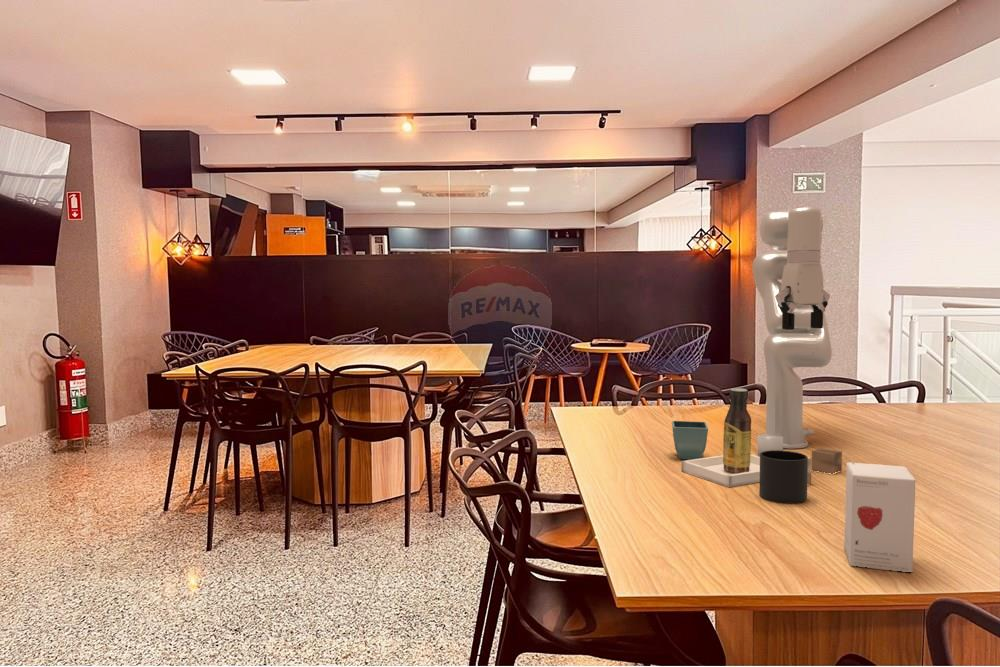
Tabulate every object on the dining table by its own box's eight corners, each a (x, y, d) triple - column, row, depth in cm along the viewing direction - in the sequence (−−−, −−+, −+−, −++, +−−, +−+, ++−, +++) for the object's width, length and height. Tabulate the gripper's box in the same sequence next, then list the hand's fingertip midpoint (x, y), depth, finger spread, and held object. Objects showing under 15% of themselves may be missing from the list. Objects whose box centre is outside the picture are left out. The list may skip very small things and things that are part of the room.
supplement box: (849, 567, 112) (850, 474, 111) (843, 547, 120) (845, 461, 119) (914, 574, 108) (916, 479, 108) (903, 554, 117) (906, 465, 116)
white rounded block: (769, 459, 182) (769, 432, 182) (787, 464, 177) (788, 437, 177) (752, 462, 180) (752, 435, 179) (770, 467, 174) (770, 439, 174)
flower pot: (708, 462, 180) (708, 427, 179) (672, 461, 182) (673, 426, 181) (705, 454, 188) (705, 421, 188) (671, 453, 190) (671, 420, 190)
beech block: (802, 479, 163) (802, 454, 162) (811, 484, 159) (811, 458, 158) (785, 480, 162) (785, 454, 162) (794, 485, 158) (794, 459, 158)
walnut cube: (820, 467, 174) (821, 447, 173) (841, 471, 170) (842, 451, 170) (811, 471, 170) (811, 451, 170) (832, 475, 167) (832, 454, 166)
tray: (743, 461, 180) (743, 452, 180) (793, 476, 165) (793, 466, 165) (681, 471, 171) (681, 461, 171) (728, 487, 157) (728, 476, 157)
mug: (810, 491, 153) (811, 450, 153) (804, 506, 143) (805, 462, 142) (764, 485, 158) (765, 446, 157) (755, 500, 147) (756, 457, 147)
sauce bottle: (718, 468, 171) (719, 387, 170) (743, 467, 172) (744, 386, 171) (729, 475, 165) (730, 391, 164) (755, 474, 165) (756, 390, 164)
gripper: (816, 259, 179) (814, 327, 180) (765, 259, 171) (764, 329, 172) (841, 258, 172) (840, 328, 173) (790, 257, 164) (789, 330, 166)
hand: (802, 328), depth 173 cm, fingers open, 9 cm apart
